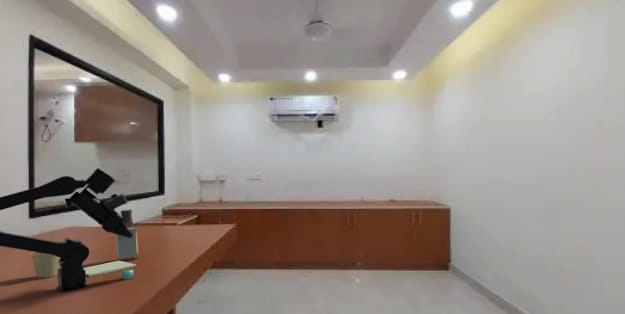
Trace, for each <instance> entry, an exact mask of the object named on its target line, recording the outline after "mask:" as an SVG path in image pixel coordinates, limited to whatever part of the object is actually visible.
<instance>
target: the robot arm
mask: <svg viewBox="0 0 625 314" xmlns="http://www.w3.org/2000/svg"><path fill="white" fill-rule="evenodd" d="M115 182H116V179H114V177H112V176H111V175H110V174H109V173H106V172H104V171H103V170H102V169H100V168H99V167H98V168H96V169H95V170H94V171H93V172H92V173H91V174H90V176H88V177H87V178H86V179H85V180H84V179H80V180H79V179H75V178H74V177H72V176H69V175H65V176H64V175H63V176H60V177H57V178H55V179H53V180H50V181H48V182H46V183H44V184H42V185H39V186H36V187H32V188H29V189H25V190H22V191H18V192H15V193H10V194H8V195H4V196H3V195H2V196H0V211H2V210H7V209H10V208H13V207H16V206H20V205H24V204H27V203H31V202H34V201H37V200H41V199H47V198H54V197H55V198H56V197H61V196H68V195H71V196H70V197H69V198H64V201H65V208H69V207H70V206H71V205H74V206H75V207H77V209H79V210H80V211H82V212H83V213H84V214H86V215H87V216H88V217H90V218H91V219H92V220H94V221H95V222H97V224H99V225H100V226H101V228H102V229H103V231H105V232H106V233H111V234H115V235H116V234H118V235H121V236H125V237H129V238H131V237H132V236H133V235H132V234H131V232H130V231H129V230H128V229H127V228H126V227H125V225H124V224H123V217H122V215H121V213H119V211H118V212H117V211H116V209H118V208H119V207H121V206H124V205H126V204H128V200H127V198H126V196H125V195H124V194H123V193H121V194H119V195H118V194H116V193H113V194H112V195H110V199H109V200H108V201H103V200H101V199H100V198H98V197H97V195H99V194H101V195H103V194H104V193H106V192H107V190H108V189H109V188H110V187H111V186H112V185H113V184H114V183H115ZM82 188H83V189H82ZM79 189H82V190H81V191H80V192H78V191H76V190H79ZM0 247H5V248H10V249H15V250H16V249H17V250H21V251H22V250H23V251H28V252H32V253H33V252H39V253H45V254H51V255H55V256H57V257H60V259H59V260H58V262H59V267H60V268H59V269H58V274H57V284H58V285H57V286H55V287H56V289H57V290H59V291H61V292H68V291H72V290H76V289H80V288H83V287H87V284H86V282H87V280H86V279H87V277H86V276H87V275H86V273H85V270H84V268H85V267H84V265H83V264H84V262H85V261H86V260H87V259H88V258H89V257H90V256H89V255H90V249H89V247H88V246H87V245H86V244H85V243H83V242H82V241H81V240H80V239H71V238H69V237H64V241H55V240H54V241H53V240H48V239H42V238H37V237H31V236H26V235H21V234H16V233H10V232H5V231H2V230H0Z"/></svg>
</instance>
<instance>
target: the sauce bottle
mask: <svg viewBox="0 0 625 314" xmlns="http://www.w3.org/2000/svg"><path fill="white" fill-rule="evenodd" d="M132 213H133V211H132V209H122V210H120V215H122V217H123V224H124V225H125V227H126V228H131V227H134V228H135V229H136V226H135V223H134V222H133V217H132V215H133V214H132ZM136 230H137V229H136ZM137 234H138V233H137V232H136V246H137V257H130V258H123V259H121V261H131V259H133V260H135V259H138V258H139V247H138V246H139V245H138V235H137Z"/></svg>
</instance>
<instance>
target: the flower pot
mask: <svg viewBox="0 0 625 314" xmlns="http://www.w3.org/2000/svg"><path fill="white" fill-rule="evenodd" d="M29 255H30V256H31V258H32V260H33V265H34V270H35V274H36V278H37V279H43V278H45V279H47V278H52V277H55V276H58V269H60V268H59V267H60V264H59V262H58V260H59V259H60V257H57V256H55V255H51V254H45V253H39V252H33V251H32V252H31V253H30V254H29Z"/></svg>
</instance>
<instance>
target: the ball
mask: <svg viewBox="0 0 625 314" xmlns="http://www.w3.org/2000/svg"><path fill="white" fill-rule="evenodd" d="M120 273H121V274H120V275H121V280H122V279H127V280H131V278H132V279H133V277H134V269H130V268H128V269H122V270H120Z"/></svg>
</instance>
